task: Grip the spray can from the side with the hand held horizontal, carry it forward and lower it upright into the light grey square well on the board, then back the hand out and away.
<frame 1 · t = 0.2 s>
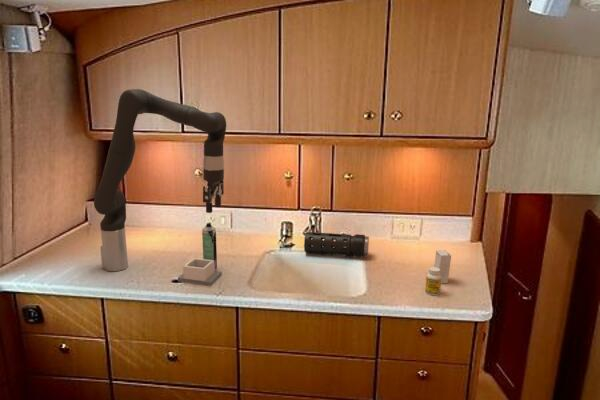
hand: (213, 209, 186), 29 cm above the worktop, tool pointing down, fingers open, 8 cm apart
socket board: (200, 278, 195), on the worktop
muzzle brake: (336, 256, 221), on the worktop
skincare box: (440, 281, 195), on the worktop
supplement bottle: (432, 293, 185), on the worktop
spray can: (210, 269, 204), on the worktop
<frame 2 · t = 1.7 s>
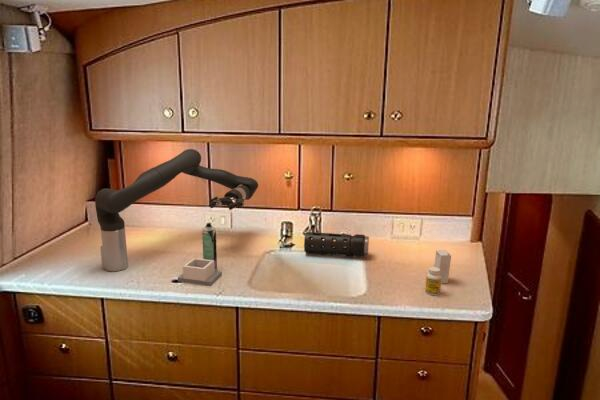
hand: (220, 206, 208), 24 cm above the worktop, tool horizontal, fingers open, 8 cm apart
nothing on the worktop moved.
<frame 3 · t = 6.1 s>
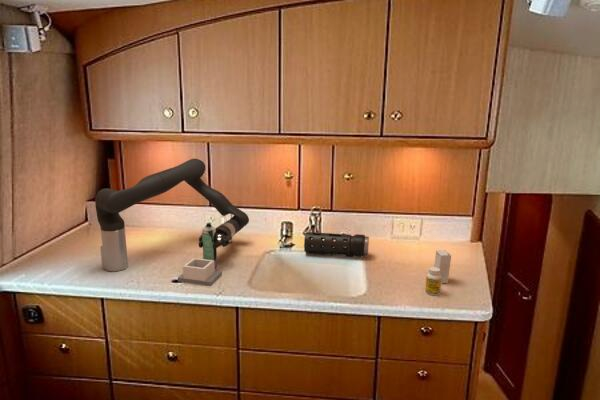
hand: (206, 246, 199), 11 cm above the worktop, tool horizontal, fingers closed on spray can, 5 cm apart
spray can: (210, 269, 204), on the worktop, touching gripper
everything else where it was.
when the fingers open (14 cm above the worktop, at t = 11.5 s): spray can drops 1 cm, resting on socket board.
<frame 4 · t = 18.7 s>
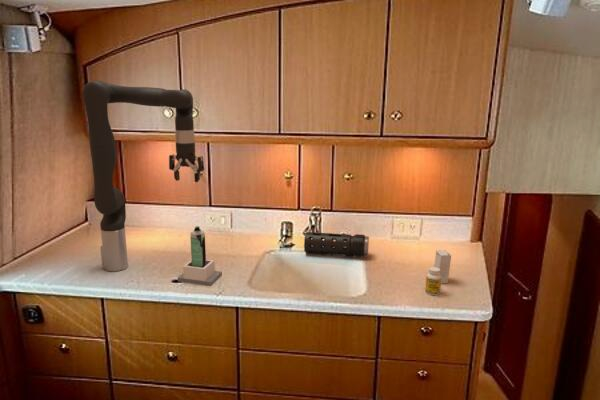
hand: (187, 181, 199), 36 cm above the worktop, tool pointing down, fingers open, 8 cm apart
spray can: (199, 275, 194), point 1 cm above the worktop, touching socket board
everything else where it was.
at the end: spray can 0.2 cm off-centre on the socket board, point 1.3 cm above the socket board's base; spray can tilted 0°; the gripper is holding nothing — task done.
